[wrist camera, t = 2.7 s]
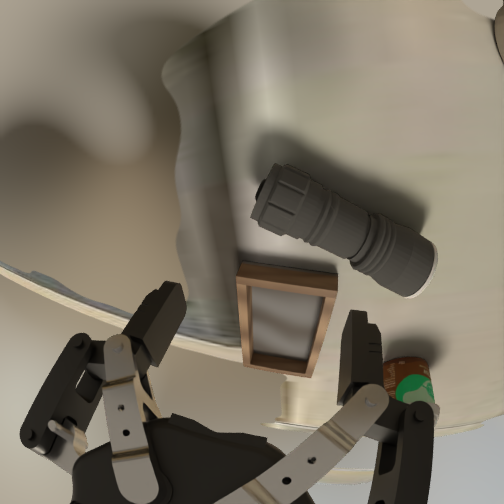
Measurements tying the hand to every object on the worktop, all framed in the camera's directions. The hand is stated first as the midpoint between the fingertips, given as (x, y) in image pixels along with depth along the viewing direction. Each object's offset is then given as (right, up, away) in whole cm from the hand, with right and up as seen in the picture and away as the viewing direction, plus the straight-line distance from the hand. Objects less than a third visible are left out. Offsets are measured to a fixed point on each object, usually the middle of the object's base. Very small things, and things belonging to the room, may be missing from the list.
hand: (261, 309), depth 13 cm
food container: (+24, -14, +21) cm, 35 cm away
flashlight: (+3, +10, +12) cm, 15 cm away
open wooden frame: (+4, -6, +21) cm, 22 cm away
